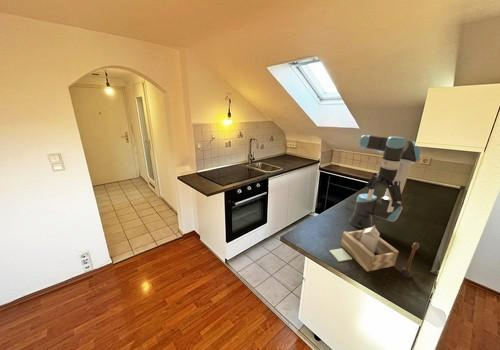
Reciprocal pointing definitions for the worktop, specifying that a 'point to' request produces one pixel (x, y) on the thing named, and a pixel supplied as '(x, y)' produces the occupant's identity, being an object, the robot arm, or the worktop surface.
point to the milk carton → (370, 239)
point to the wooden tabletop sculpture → (409, 262)
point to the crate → (364, 255)
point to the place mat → (340, 254)
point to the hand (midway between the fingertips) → (378, 205)
